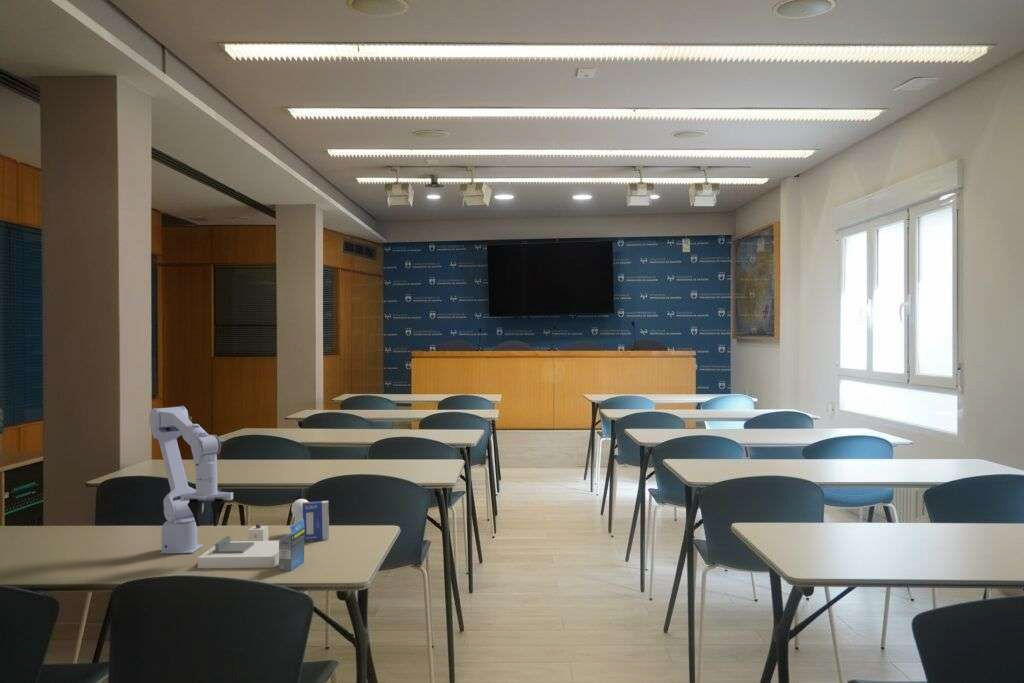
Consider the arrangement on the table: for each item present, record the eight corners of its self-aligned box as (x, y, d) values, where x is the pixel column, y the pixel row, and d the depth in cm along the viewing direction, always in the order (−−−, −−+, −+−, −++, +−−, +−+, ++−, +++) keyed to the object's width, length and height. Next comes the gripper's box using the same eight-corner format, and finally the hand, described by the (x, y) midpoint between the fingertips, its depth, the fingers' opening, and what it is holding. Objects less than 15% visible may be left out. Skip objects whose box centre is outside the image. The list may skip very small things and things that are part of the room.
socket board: (197, 568, 205) (197, 556, 205) (221, 551, 221) (221, 540, 221) (273, 567, 205) (272, 555, 205) (291, 550, 221) (291, 539, 221)
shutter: (213, 553, 209) (212, 544, 209) (225, 544, 217) (225, 535, 217) (243, 552, 209) (242, 543, 208) (254, 544, 217) (253, 535, 217)
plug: (248, 548, 224) (248, 526, 224) (254, 543, 229) (253, 522, 229) (263, 547, 224) (262, 526, 224) (268, 543, 229) (268, 522, 229)
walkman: (303, 541, 230) (302, 503, 230) (303, 539, 233) (302, 501, 233) (329, 539, 232) (328, 501, 232) (329, 537, 235) (328, 499, 235)
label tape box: (292, 561, 210) (291, 518, 210) (305, 561, 210) (304, 518, 210) (278, 571, 201) (277, 526, 201) (292, 571, 201) (291, 526, 201)
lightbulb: (305, 535, 237) (305, 501, 237) (288, 535, 238) (287, 500, 238) (314, 530, 243) (314, 497, 243) (297, 530, 244) (296, 496, 244)
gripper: (175, 481, 209) (176, 529, 209) (226, 480, 209) (227, 528, 209) (186, 476, 216) (187, 522, 216) (235, 475, 216) (236, 522, 216)
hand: (207, 525), depth 213 cm, fingers open, 4 cm apart
